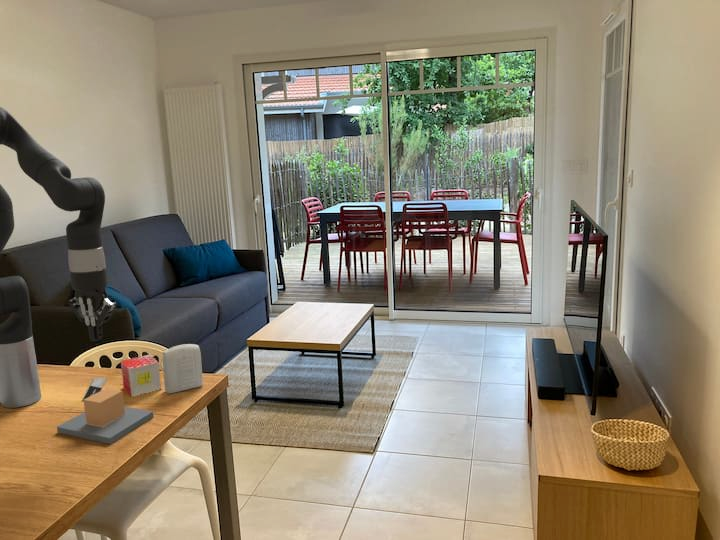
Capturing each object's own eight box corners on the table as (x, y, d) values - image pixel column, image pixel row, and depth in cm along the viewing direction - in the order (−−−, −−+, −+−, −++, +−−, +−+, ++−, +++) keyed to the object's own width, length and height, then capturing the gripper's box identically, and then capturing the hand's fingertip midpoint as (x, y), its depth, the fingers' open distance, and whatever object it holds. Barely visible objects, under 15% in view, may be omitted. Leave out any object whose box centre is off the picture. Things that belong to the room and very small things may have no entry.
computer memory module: (92, 378, 168) (107, 376, 168) (92, 381, 168) (107, 380, 169) (81, 399, 154) (97, 397, 154) (81, 403, 154) (98, 401, 155)
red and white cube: (131, 397, 156) (128, 369, 154) (123, 387, 162) (120, 360, 160) (161, 389, 160) (159, 362, 159) (152, 380, 167) (150, 354, 165)
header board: (57, 432, 137) (55, 418, 136) (103, 407, 150) (101, 394, 149) (110, 444, 131) (108, 429, 131) (153, 417, 144) (152, 403, 143)
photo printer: (200, 381, 165) (196, 339, 163) (205, 386, 162) (201, 343, 159) (163, 390, 160) (159, 347, 157) (167, 395, 156) (163, 351, 154)
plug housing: (86, 423, 138) (83, 399, 137) (109, 410, 144) (106, 388, 143) (102, 426, 136) (99, 402, 135) (125, 413, 142) (122, 390, 141)
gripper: (52, 268, 132) (61, 342, 136) (97, 272, 127) (106, 348, 131) (79, 262, 139) (87, 332, 142) (122, 265, 134) (130, 338, 138)
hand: (96, 339), depth 137 cm, fingers closed
